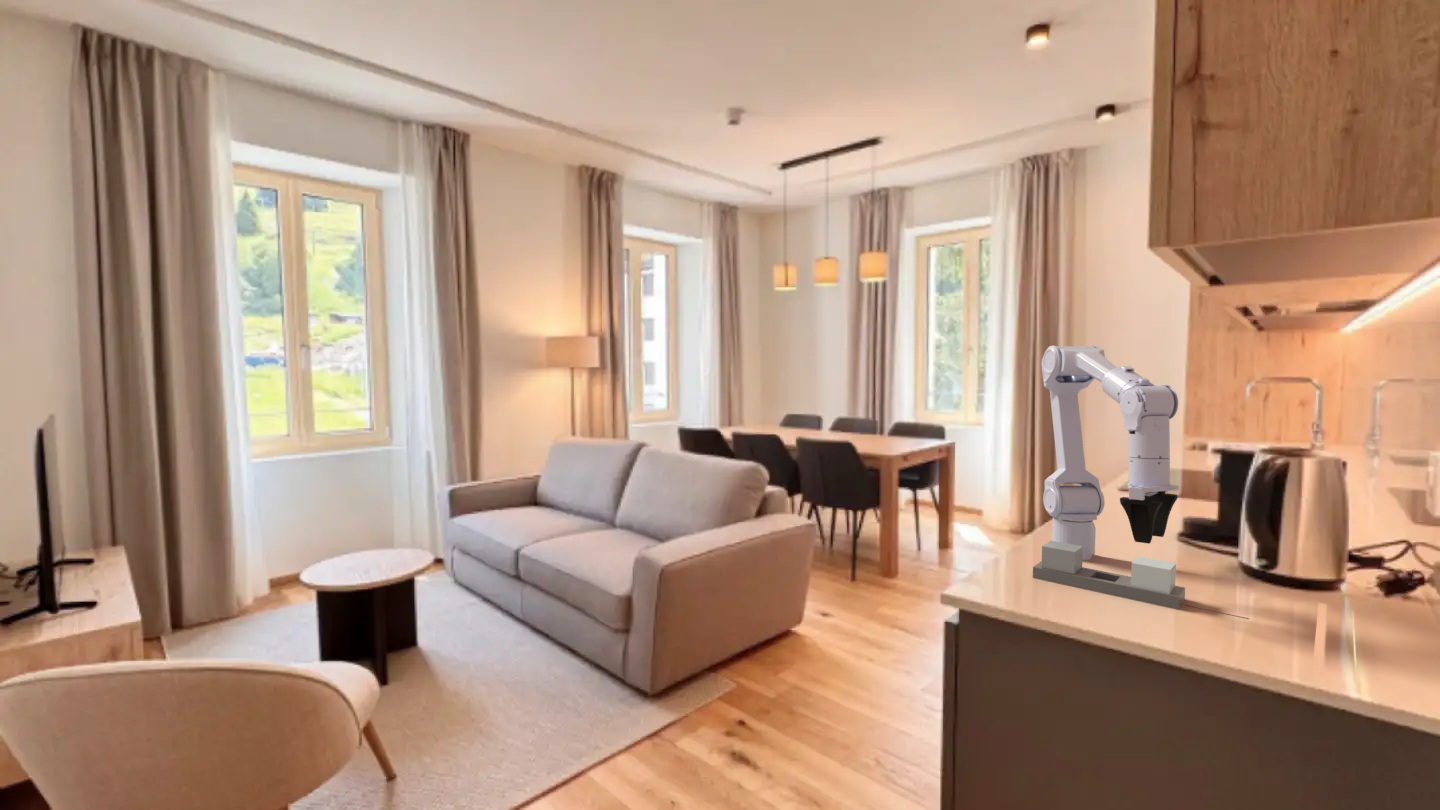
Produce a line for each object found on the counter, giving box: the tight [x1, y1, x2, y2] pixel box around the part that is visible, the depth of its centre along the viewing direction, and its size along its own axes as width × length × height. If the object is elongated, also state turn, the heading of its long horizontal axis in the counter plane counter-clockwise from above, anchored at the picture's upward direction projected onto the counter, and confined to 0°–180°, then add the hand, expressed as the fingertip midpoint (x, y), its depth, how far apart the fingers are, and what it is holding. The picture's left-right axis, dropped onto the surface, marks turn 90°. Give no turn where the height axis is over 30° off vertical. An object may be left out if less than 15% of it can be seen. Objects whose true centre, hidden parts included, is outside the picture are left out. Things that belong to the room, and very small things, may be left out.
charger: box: [1130, 556, 1177, 594], centre depth 107 cm, size 5×5×6 cm
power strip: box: [1032, 540, 1250, 620], centre depth 109 cm, size 6×30×7 cm, turn 46°
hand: (1149, 539), depth 106 cm, fingers open, 7 cm apart
